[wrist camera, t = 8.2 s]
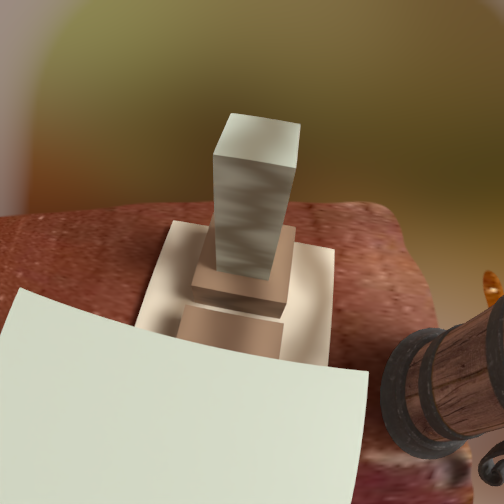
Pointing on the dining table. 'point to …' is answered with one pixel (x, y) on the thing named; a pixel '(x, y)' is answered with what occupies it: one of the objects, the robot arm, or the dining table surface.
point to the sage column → (166, 417)
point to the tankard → (448, 390)
